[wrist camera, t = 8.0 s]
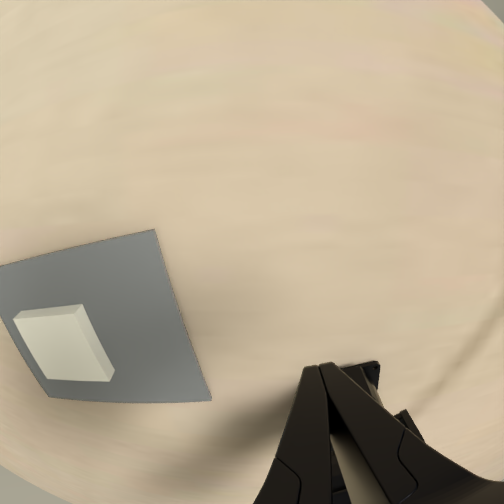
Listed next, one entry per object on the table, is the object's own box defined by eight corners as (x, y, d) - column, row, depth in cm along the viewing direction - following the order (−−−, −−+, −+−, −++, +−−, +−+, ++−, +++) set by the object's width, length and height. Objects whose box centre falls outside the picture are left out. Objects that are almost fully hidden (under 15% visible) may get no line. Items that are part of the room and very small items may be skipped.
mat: (211, 397, 25) (211, 400, 25) (50, 394, 26) (48, 397, 26) (154, 228, 20) (152, 230, 19) (-17, 270, 21) (-19, 272, 20)
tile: (109, 381, 22) (47, 378, 23) (115, 370, 24) (53, 369, 24) (73, 313, 20) (12, 319, 20) (82, 303, 21) (21, 310, 22)
